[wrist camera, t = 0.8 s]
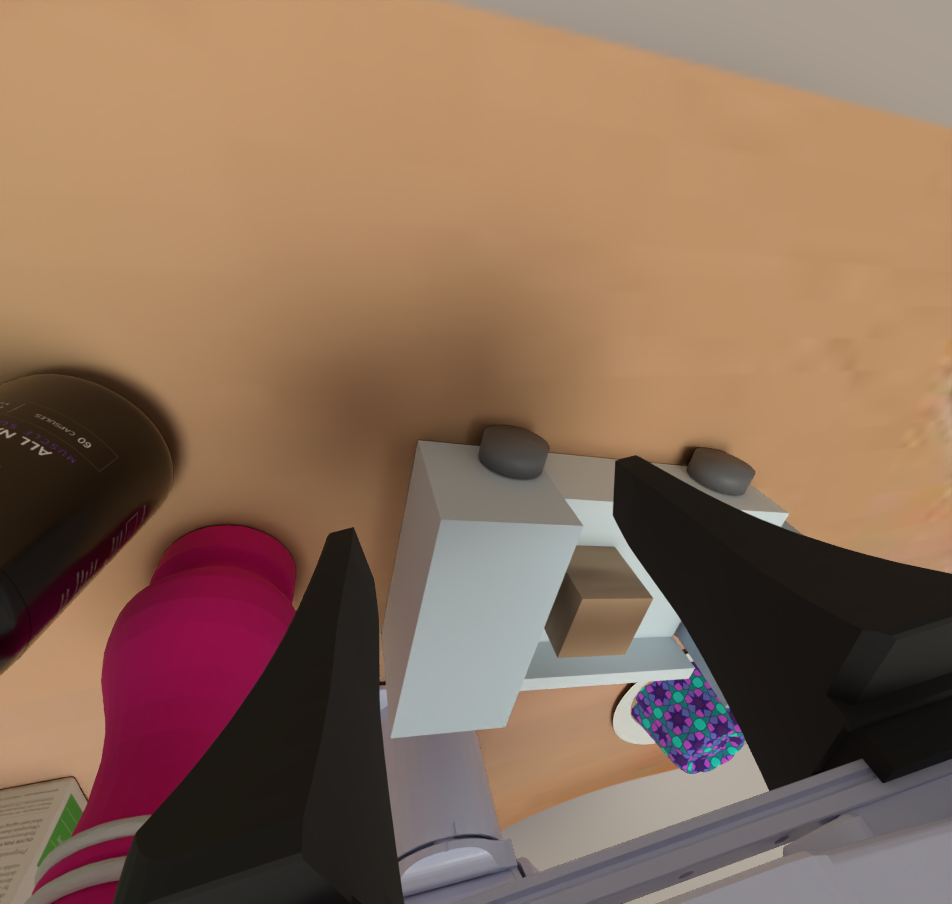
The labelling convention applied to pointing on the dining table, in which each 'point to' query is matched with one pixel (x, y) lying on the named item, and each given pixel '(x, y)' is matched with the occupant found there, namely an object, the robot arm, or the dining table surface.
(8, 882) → the skincare box
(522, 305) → the dining table surface
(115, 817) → the pepper mill
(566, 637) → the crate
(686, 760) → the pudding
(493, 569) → the ute bed
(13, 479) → the supplement bottle
